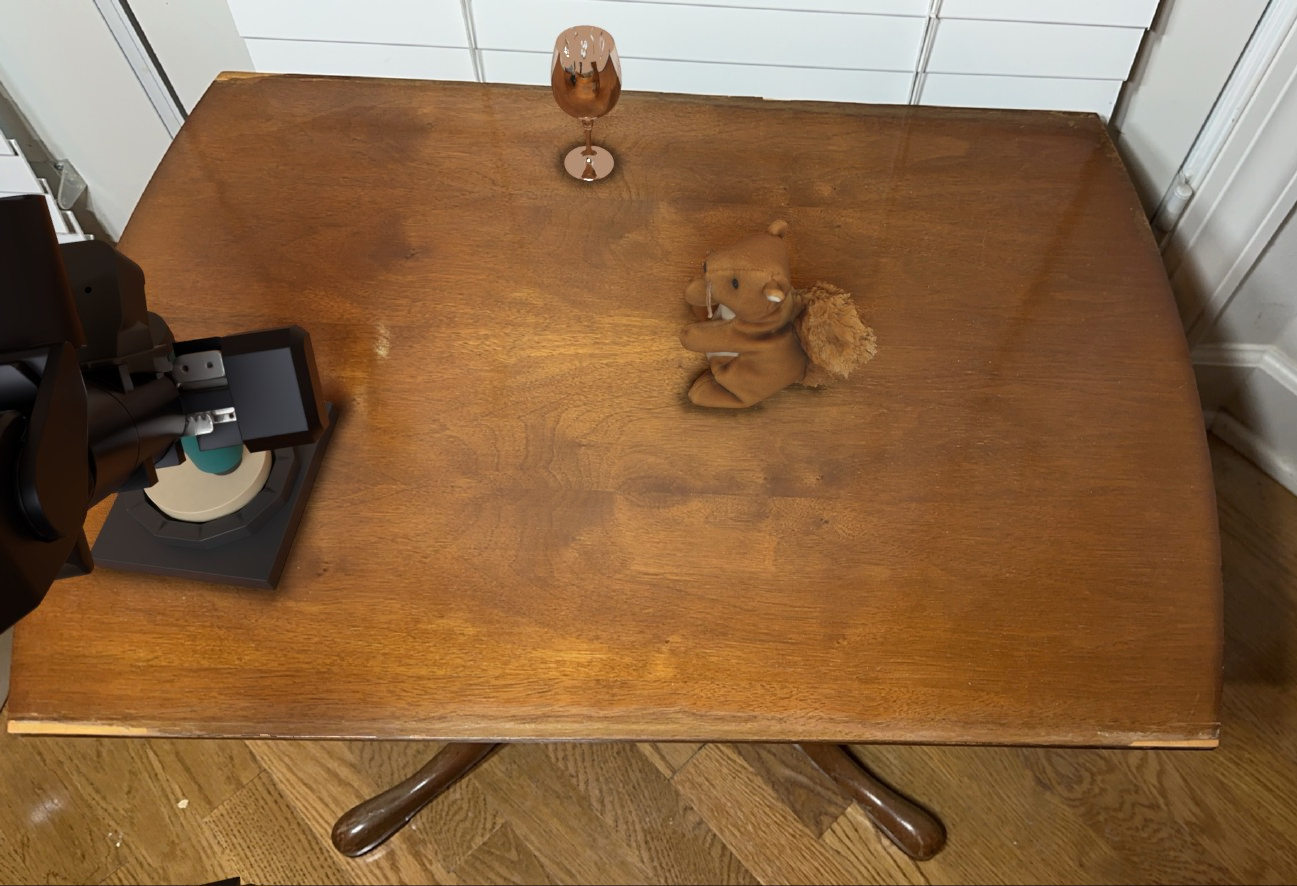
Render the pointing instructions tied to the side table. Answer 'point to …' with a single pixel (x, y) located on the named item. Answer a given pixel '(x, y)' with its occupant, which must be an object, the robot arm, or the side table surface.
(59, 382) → the robot arm
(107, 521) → the button base
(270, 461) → the pad disc
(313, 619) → the side table surface
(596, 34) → the wineglass
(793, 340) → the stuffed squirrel
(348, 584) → the side table surface
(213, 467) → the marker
